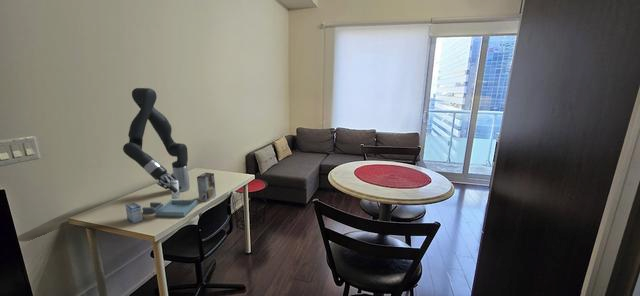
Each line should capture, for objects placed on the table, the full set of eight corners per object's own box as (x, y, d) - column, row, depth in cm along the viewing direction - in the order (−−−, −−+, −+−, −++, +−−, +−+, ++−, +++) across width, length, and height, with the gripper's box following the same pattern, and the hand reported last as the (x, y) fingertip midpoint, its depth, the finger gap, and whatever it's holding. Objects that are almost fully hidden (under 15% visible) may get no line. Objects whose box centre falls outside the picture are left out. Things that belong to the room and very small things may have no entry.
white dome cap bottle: (174, 195, 158) (172, 179, 156) (181, 196, 158) (179, 180, 156) (170, 198, 154) (168, 182, 152) (177, 198, 154) (175, 182, 152)
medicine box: (127, 219, 147) (124, 204, 145) (136, 216, 150) (134, 201, 148) (133, 223, 143) (131, 208, 141) (143, 220, 146) (140, 205, 144)
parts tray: (171, 204, 166) (171, 199, 165) (197, 204, 166) (197, 200, 165) (155, 216, 150) (155, 211, 150) (184, 217, 150) (183, 212, 149)
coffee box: (207, 195, 180) (205, 172, 177) (216, 196, 179) (214, 173, 175) (198, 200, 172) (196, 176, 168) (207, 201, 170) (205, 177, 166)
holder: (151, 206, 162) (151, 202, 161) (163, 207, 162) (162, 202, 161) (143, 212, 154) (142, 208, 154) (155, 213, 154) (154, 208, 154)
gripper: (151, 168, 145) (176, 190, 147) (166, 161, 159) (188, 181, 161) (143, 178, 146) (167, 199, 149) (158, 170, 160) (181, 189, 162)
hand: (178, 190), depth 155 cm, fingers closed on white dome cap bottle, 4 cm apart
